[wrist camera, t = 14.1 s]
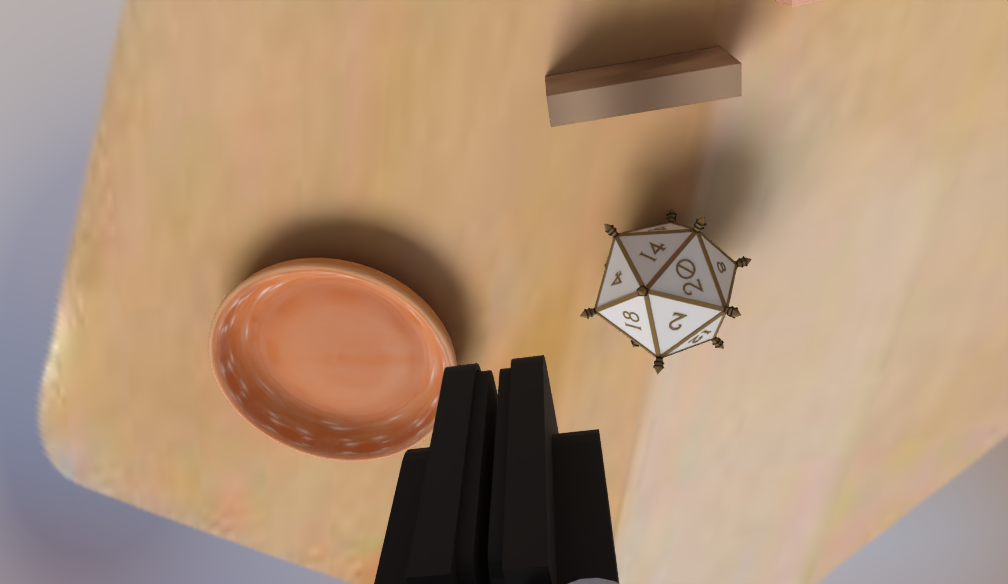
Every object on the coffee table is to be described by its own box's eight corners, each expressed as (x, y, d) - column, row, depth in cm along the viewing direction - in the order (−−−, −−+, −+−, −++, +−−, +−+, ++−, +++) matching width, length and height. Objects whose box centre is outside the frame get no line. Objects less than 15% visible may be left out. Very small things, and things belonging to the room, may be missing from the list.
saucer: (278, 446, 50) (264, 476, 47) (184, 263, 42) (161, 287, 39) (484, 419, 47) (481, 449, 45) (426, 221, 39) (419, 243, 37)
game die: (616, 217, 43) (555, 206, 34) (756, 206, 39) (728, 191, 30) (621, 354, 43) (562, 379, 34) (760, 358, 39) (734, 387, 30)
